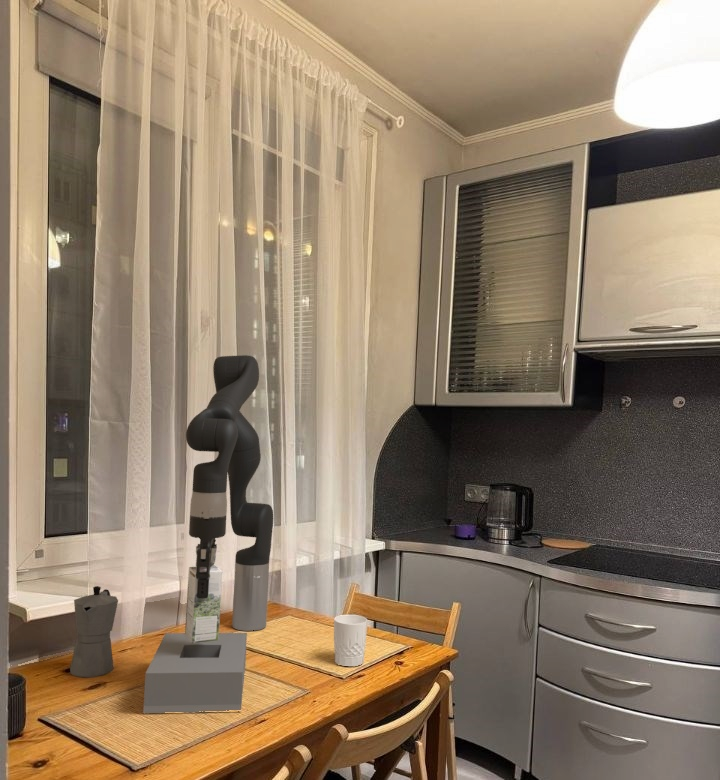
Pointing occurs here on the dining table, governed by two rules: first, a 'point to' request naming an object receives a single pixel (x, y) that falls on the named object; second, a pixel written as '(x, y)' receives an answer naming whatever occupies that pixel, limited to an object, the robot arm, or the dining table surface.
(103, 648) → the coffeepot
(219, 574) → the syrup box
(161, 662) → the post block
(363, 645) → the white cup
